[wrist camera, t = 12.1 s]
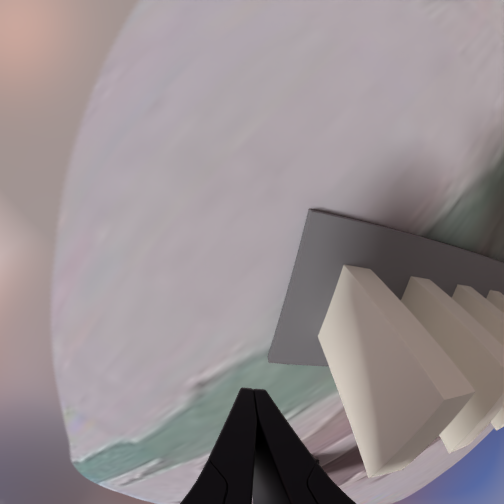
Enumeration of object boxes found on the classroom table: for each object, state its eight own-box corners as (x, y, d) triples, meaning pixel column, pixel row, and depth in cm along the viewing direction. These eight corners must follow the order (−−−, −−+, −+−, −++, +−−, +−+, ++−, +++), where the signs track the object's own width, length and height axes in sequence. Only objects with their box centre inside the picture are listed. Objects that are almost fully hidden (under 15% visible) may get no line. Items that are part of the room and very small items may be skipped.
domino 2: (429, 279, 16) (527, 373, 7) (401, 340, 18) (468, 444, 8) (410, 276, 16) (513, 379, 6) (382, 340, 17) (448, 453, 8)
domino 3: (470, 286, 16) (554, 361, 7) (444, 340, 18) (508, 423, 9) (457, 284, 16) (546, 365, 7) (430, 340, 18) (496, 430, 9)
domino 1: (370, 269, 15) (475, 391, 6) (342, 338, 17) (402, 469, 8) (343, 264, 15) (443, 399, 6) (317, 336, 17) (368, 478, 7)
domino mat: (494, 352, 21) (497, 355, 20) (267, 356, 18) (268, 362, 17) (533, 272, 18) (536, 275, 17) (309, 208, 15) (311, 211, 14)
